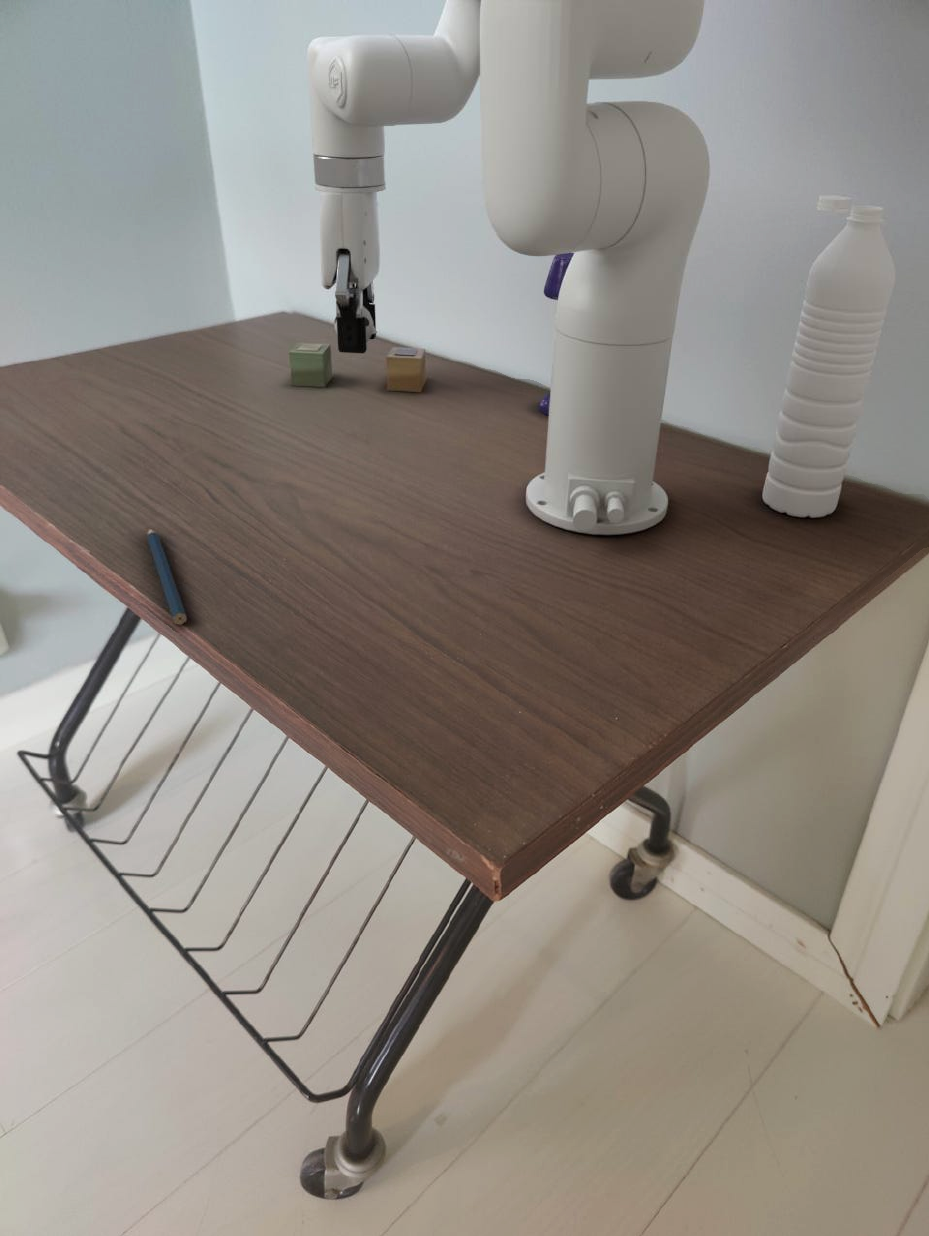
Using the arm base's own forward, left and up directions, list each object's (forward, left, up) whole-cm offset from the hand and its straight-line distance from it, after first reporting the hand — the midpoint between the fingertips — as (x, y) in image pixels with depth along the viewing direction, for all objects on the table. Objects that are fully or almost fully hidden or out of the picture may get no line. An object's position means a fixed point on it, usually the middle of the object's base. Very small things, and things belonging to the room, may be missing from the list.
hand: (357, 343), depth 107 cm
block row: (0, 0, -5) cm, 5 cm away
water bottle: (-26, -46, -5) cm, 53 cm away
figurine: (0, 0, -1) cm, 1 cm away
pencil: (-54, +2, -4) cm, 54 cm away
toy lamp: (-6, -24, -5) cm, 25 cm away
